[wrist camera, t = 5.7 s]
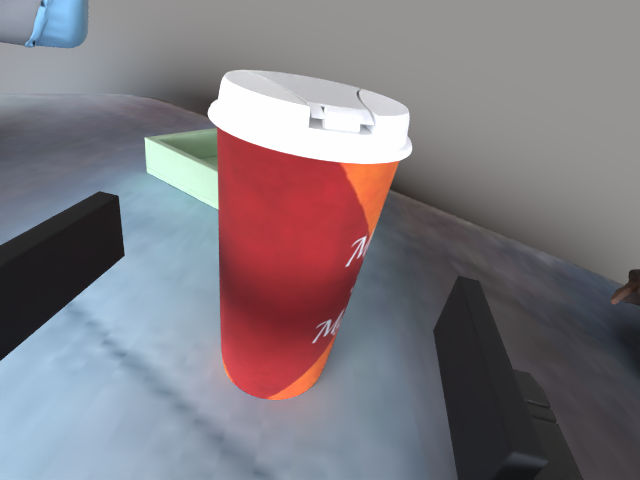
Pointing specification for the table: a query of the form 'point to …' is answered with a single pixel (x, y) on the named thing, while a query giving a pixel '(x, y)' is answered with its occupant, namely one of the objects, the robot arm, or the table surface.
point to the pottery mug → (629, 290)
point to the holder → (186, 162)
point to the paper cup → (295, 217)
